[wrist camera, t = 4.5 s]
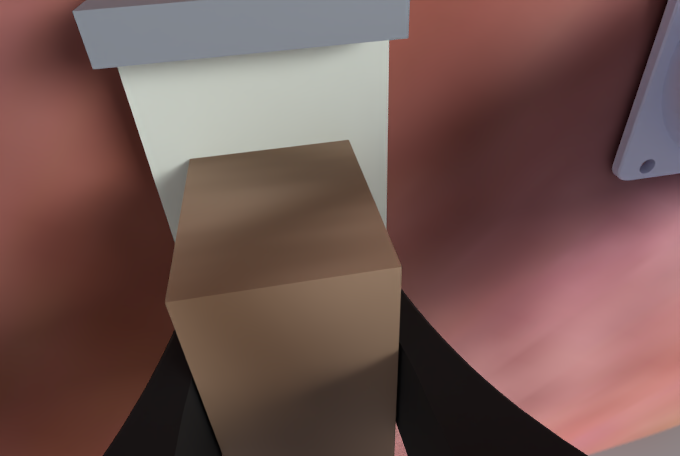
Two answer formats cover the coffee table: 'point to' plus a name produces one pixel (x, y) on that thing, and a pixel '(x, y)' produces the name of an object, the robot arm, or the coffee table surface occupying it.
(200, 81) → the rail
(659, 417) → the coffee table surface
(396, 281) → the tan cardboard box
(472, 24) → the coffee table surface
